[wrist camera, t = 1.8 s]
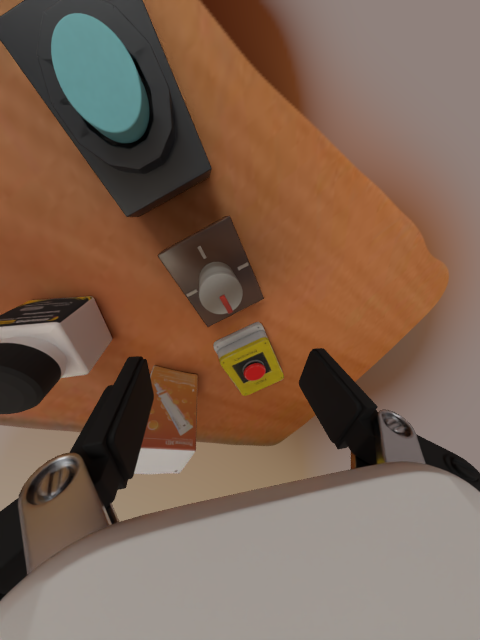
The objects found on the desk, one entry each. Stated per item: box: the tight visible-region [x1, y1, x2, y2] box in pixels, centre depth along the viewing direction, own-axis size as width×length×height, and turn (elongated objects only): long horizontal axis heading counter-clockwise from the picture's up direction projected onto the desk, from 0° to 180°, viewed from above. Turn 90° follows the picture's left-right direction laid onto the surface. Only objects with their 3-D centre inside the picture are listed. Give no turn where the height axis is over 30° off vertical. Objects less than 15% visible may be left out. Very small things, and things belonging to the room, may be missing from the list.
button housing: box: [0, 0, 212, 217], centre depth 14 cm, size 11×9×6 cm
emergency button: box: [214, 322, 284, 396], centre depth 32 cm, size 9×4×15 cm
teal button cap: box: [51, 13, 149, 143], centre depth 11 cm, size 4×4×2 cm
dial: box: [199, 262, 243, 314], centre depth 20 cm, size 4×4×5 cm
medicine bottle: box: [0, 296, 112, 414], centre depth 19 cm, size 7×7×12 cm
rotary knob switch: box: [158, 216, 264, 327], centre depth 23 cm, size 11×9×3 cm
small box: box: [134, 366, 198, 474], centre depth 28 cm, size 8×6×13 cm
